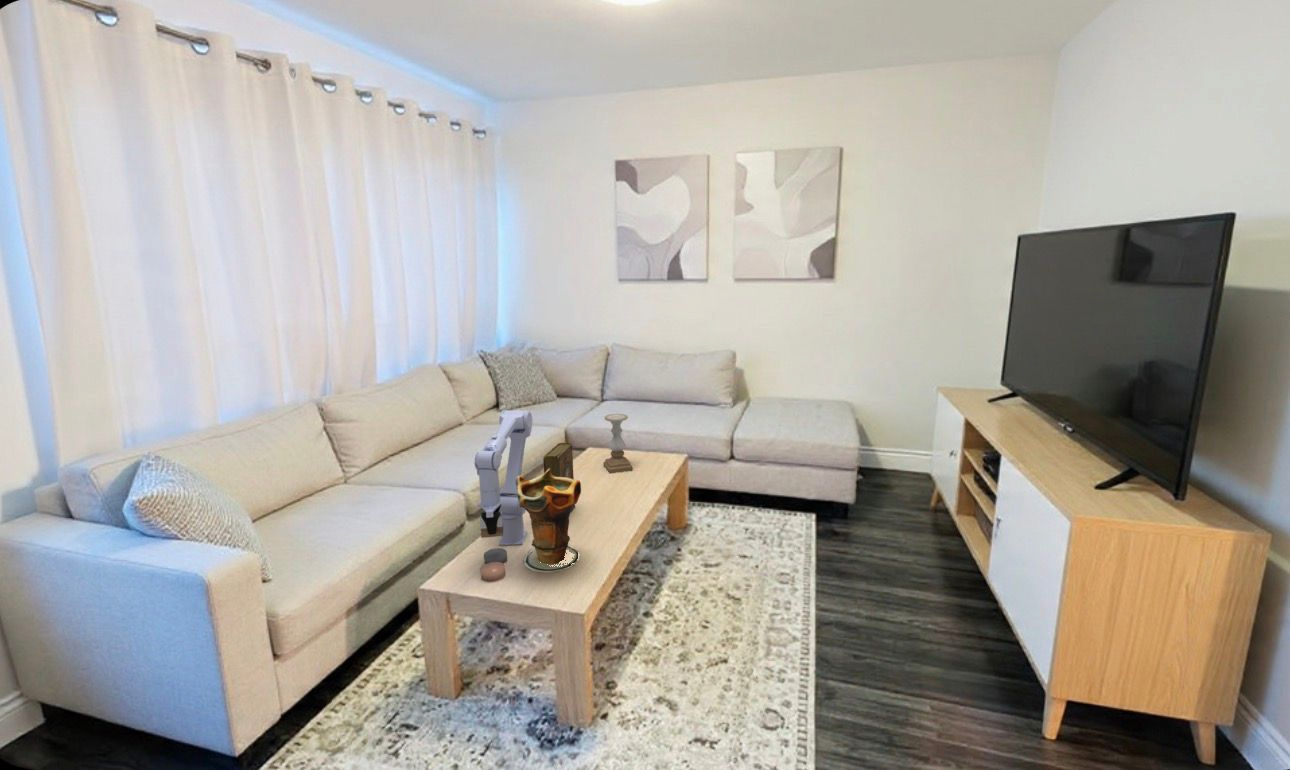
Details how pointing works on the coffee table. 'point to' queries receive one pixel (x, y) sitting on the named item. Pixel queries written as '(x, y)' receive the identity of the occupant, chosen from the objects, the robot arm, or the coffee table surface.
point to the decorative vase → (548, 518)
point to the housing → (498, 532)
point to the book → (560, 461)
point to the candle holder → (617, 446)
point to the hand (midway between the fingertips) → (492, 530)
